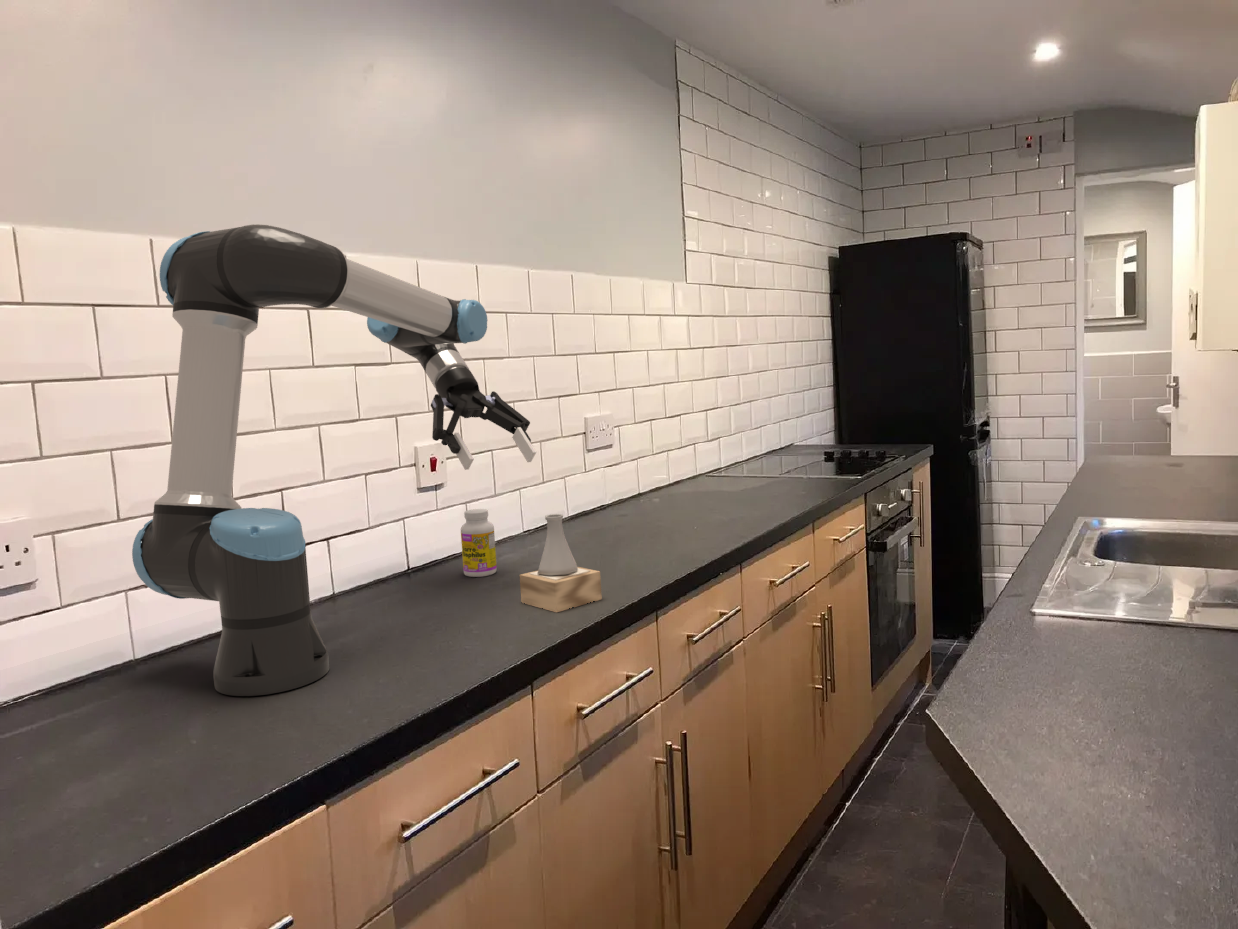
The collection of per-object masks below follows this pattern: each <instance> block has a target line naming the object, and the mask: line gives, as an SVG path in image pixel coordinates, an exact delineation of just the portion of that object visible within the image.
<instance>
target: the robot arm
mask: <svg viewBox="0 0 1238 929" xmlns="http://www.w3.org/2000/svg"><path fill="white" fill-rule="evenodd" d="M161 259H162V260H161V263H160V265H159V282H160V287H161V291H162V292H164V293H165V294H166V296H165V297H166V299H167V301H168V302H169V303H170V304H171V305H172V313H171V314H172V315H171V316H172V318H173V319H174V320H175V321H176V322H177V323H178V325H179V326H180V327H181V329H182V333H181V342H180V352H179V353H180V354H179V365H178V374H177V383H176V384H177V386H176V393H175V394H176V396H175V404H174V405H175V406H174V417H173V427H172V437H171V448H170V458H169V459H170V460H169V467H168V468H169V469H168V480H167V487H166V488H167V490H166V492H165V493H164V494H163V495H162V496H160V497H159V498H158V499H157V500H156V501H154V504H153V513H152V519H150V520H148V521H147V522H146V523H144V525H143V528H141V529H139V530H138V531H137V533H136V535H135V538H134V540H133V544H132V550H131V551H132V552H131V553H132V554H131V555H132V564H133V566H134V569H135V572H136V574H137V576H138V577H139V579H140V580H141V582H143V583H144V585H146V587H147V588H149V589H150V590H152V591H154V592H155V593H158V594H160V595H165V596H168V597H172V598H175V599H178V600H179V599H180V600H182V599H183V600H185V599H194V600H204V601H213V602H219V611H220V620H221V628H222V630H221V636H220V640H219V645H218V648H217V653H216V657H215V661H214V666H213V669H212V671H213V672H212V674H213V676H212V677H213V684H214V686H213V687H214V689H215V691H216V692H218V693H220V694H223V695H227V696H234V697H255V696H264V695H265V696H266V695H272V694H278V693H283V692H287V691H290V690H295V689H297V688H301V687H303V686H306V685H309V684H312V683H313V682H316V681H318V680H320V679H322V677H324V676H325V675H326V674H328V672H329V670H330V660H329V658H330V657H329V653H328V650H327V648H326V645H325V643H324V641H323V639H322V637H321V635H320V633H319V630H318V629H317V626H316V624H315V622H314V620H313V618H312V612H311V611H312V610H311V609H312V608H311V601H310V600H311V599H310V598H311V597H310V588H309V587H310V586H309V577H308V563H307V550H306V539H305V537H304V534H303V528H302V523H301V520H300V519H299V518H298V517H297V516H296V515H295V514H293V513H291V512H289V511H286V510H283V509H279V508H270V507H261V508H256V507H246V508H245V507H244V508H242V506H241V505H240V504H239V503H238V501H236V500H235V498H234V497H233V494H232V493H233V485H234V484H233V482H234V481H233V480H234V472H235V471H234V469H235V461H236V460H235V458H236V447H237V439H238V426H239V415H240V413H239V412H240V405H241V403H240V401H241V393H242V390H241V389H242V380H243V369H244V360H245V359H244V358H245V348H246V339H247V336H249V335H250V334H251V333H252V332H254V331H255V330H257V328H258V324H259V315H260V314H259V312H260V308H265V307H266V308H267V307H271V306H272V307H273V306H281V305H282V306H283V305H303V306H309V307H312V308H315V309H321V310H323V309H328V308H329V307H334V308H337V309H340V310H344V311H347V312H350V313H352V314H353V313H354V314H356V315H360V316H364V317H366V318H367V319H366V324H367V329H368V331H369V332H370V333H371V335H373V337H375V338H377V339H379V341H381V342H383V343H385V344H387V345H389V346H392V347H394V348H396V349H398V350H400V351H401V352H403V353H405V354H407V355H408V356H411V357H412V358H414V359H416V360H417V361H418V362H419V363H420V365H421V367H422V369H423V370H424V373H425V374H426V376H427V377H428V379H429V381H430V382H431V384H432V386H433V387H434V389H435V391H436V392H437V394H434V396H433V398H432V400H431V403H430V407H431V410H432V413H433V415H432V416H433V417H432V435H431V436H432V437H431V438H432V440H434V441H440V440H441V442H440V443H441V444H442V445H443V446H448V448H449V450H450V452H451V453H452V454H453V455H454V454H455V455H456V457H457V458H458V459H459V461H460V464H461V465H462V467H463V468H464V471H466V470H470V468H471V465H472V464H473V461H474V457H473V455H472V453H471V451H470V450H469V449H468V446H467V445H466V443H465V441H464V439H463V438H462V436H461V434H460V433H459V432H454V431H455V429H456V426H457V424H458V421H459V419H460V417H461V418H464V419H470V418H480V419H482V420H484V421H487V420H488V421H489V422H490V423H493V424H494V425H497V426H498V427H500V428H502V429H504V430H505V431H507V432H509V433H510V434H512V437H511V439H512V440H513V442H514V443H515V444H516V446H517V447H518V449H519V451H520V453H521V454H522V455H523V457H524V459H525V460H526V463H532V461H533V459H534V457H535V455H536V454H537V451H536V449H535V448H534V446H533V445H532V443H531V442H532V439H531V437H530V436H529V434H528V433H527V430H528V428H529V426H530V424H531V421H530V420H529V419H527V418H526V417H525V416H524V415H523V414H521V413H520V412H518V411H517V410H516V409H515V408H514V407H512V406H511V405H510V404H508V403H507V402H506V401H505V400H503V399H502V398H501V396H500V395H499V394H498V393H497V392H496V391H491V392H490V394H489V395H485V394H484V393H482V392H481V391H480V387H479V382H478V381H477V379H476V377H475V376H474V374H473V373H472V372H471V371H472V370H470V367H469V366H468V364H467V363H466V361H465V360H464V358H463V357H462V355H461V354H460V352H459V351H458V349H457V347H456V346H455V344H465V345H466V344H468V343H473V342H479V341H480V340H482V339H483V338H484V337H485V335H486V333H487V330H488V315H487V311H486V309H485V307H484V306H483V305H482V303H481V302H479V301H478V300H475V299H466V298H464V299H460V300H456V299H452V298H449V297H446V296H443V295H440V294H437V293H435V292H432V291H430V290H428V289H425V288H422V287H421V286H420V287H419V286H417V285H415V284H412V283H410V282H408V281H404V280H403V279H400V278H396V277H394V276H392V275H390V274H386V273H385V272H382V271H379V270H376V269H374V268H371V267H370V266H369V267H368V266H366V265H365V264H361V263H359V262H357V261H353V260H351V259H348V258H347V257H346V255H345V254H344V252H343V251H342V250H341V249H340V248H339V247H336V246H334V245H331V244H329V243H327V242H324V241H322V240H318V239H317V238H316V239H315V238H313V237H310V236H308V235H305V234H302V233H298V232H297V231H292V230H289V229H286V228H282V227H278V226H274V225H269V224H247V225H243V226H242V225H241V226H238V227H230V228H225V229H219V230H214V231H213V230H212V231H211V230H209V231H201V232H200V231H198V232H196V233H193V234H190V235H188V236H184V237H181V238H180V239H178V240H177V241H175V242H174V243H172V244H171V245H170V246H169V247H168V249H166V251H165V253H164V254H163V256H162V258H161ZM445 407H446V408H447V409H449V410H450V411H452V412H453V413H452V416H451V418H450V421H449V422H448V426H447V427H446V429H444V416H445V414H444V412H445ZM485 408H486V411H485V412H484V410H485Z"/></svg>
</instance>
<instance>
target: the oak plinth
mask: <svg viewBox="0 0 1238 929" xmlns="http://www.w3.org/2000/svg"><path fill="white" fill-rule="evenodd" d="M577 567H578V568H577V571H575V572H572V573H569V574H565V575H543V574H538V569H537V570H534V571H530V572H525V573H521V574H519V586H520V587H519V588H520V602H522V603H521V604H524V603H525V605H528V606H531V607H532V606H533V607H536V608H539V609H542V608H543V609H542V610H547V611H550V612H554V613H560V612H563V611H567V610H569V608H570V609H572V607H574V608H576V607H580V606H583V605H584V606H585V605H587V603H588V604H591V603H594V602H593V601H595V602H598V601H601V600H602V598H603V596H602V583H601V580H602V578H601V571H599V570H595V569H590V568H586V567H580V566H577ZM590 602H591V603H590Z"/></svg>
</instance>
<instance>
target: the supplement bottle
mask: <svg viewBox="0 0 1238 929" xmlns="http://www.w3.org/2000/svg"><path fill="white" fill-rule="evenodd" d="M488 510H489V509H486V508H475V509H468V510H465V511H464V513H463V514H464V515H463V516H464V518H465V523H464V524H463V525H462V526H461V528H460V539H461V540H460V541H461V542H460V543H461V553H462V554H461V555H462V568H463V569H462V570H463V575H465V576H466V577H470V578H471V577H472V578H475V577H477V578H479V577H481V578H482V577H488V576H491V575H493V574H495V573H496V572H497V568H498V566H497V565H498V564H497V552H496V551H497V550H496V537H495V527H494V524H493V523H492V522H490V521H488V517H489V511H488Z"/></svg>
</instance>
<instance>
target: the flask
mask: <svg viewBox="0 0 1238 929" xmlns="http://www.w3.org/2000/svg"><path fill="white" fill-rule="evenodd" d="M563 518H564V514H563V513H550V514H547V515H545V517H544V519H545V521H546V523H547V524H546V526H547V527H546V528H547V529H546V530H547V531H546V539H545V543H544V548H543V551H542V555H541V558H540V563H539V565H538V569H537V570H538V574H543V575H565V574H569V573H572V572H575V571H577V568H578V567H579V566H578V564H577V561H576V560H575V558H574V556H573V553H572V551H571V548H570V546H569V543H568V541H567V539H566V536H565V533H564V528H563Z"/></svg>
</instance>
